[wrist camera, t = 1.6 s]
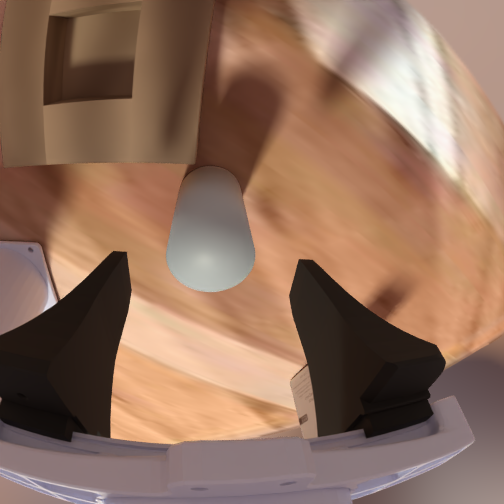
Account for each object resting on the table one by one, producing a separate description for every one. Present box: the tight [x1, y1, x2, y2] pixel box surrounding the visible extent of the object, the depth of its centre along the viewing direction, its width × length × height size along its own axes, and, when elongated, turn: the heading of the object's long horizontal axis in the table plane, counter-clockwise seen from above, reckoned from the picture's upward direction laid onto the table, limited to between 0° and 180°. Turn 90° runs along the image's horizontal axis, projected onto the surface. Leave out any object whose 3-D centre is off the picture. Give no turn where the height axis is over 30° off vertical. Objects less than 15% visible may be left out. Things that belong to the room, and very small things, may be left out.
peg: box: [166, 166, 255, 292], centre depth 17 cm, size 4×4×7 cm
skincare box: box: [290, 365, 318, 439], centre depth 28 cm, size 6×4×12 cm
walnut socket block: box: [0, 0, 215, 168], centre depth 12 cm, size 12×12×3 cm
